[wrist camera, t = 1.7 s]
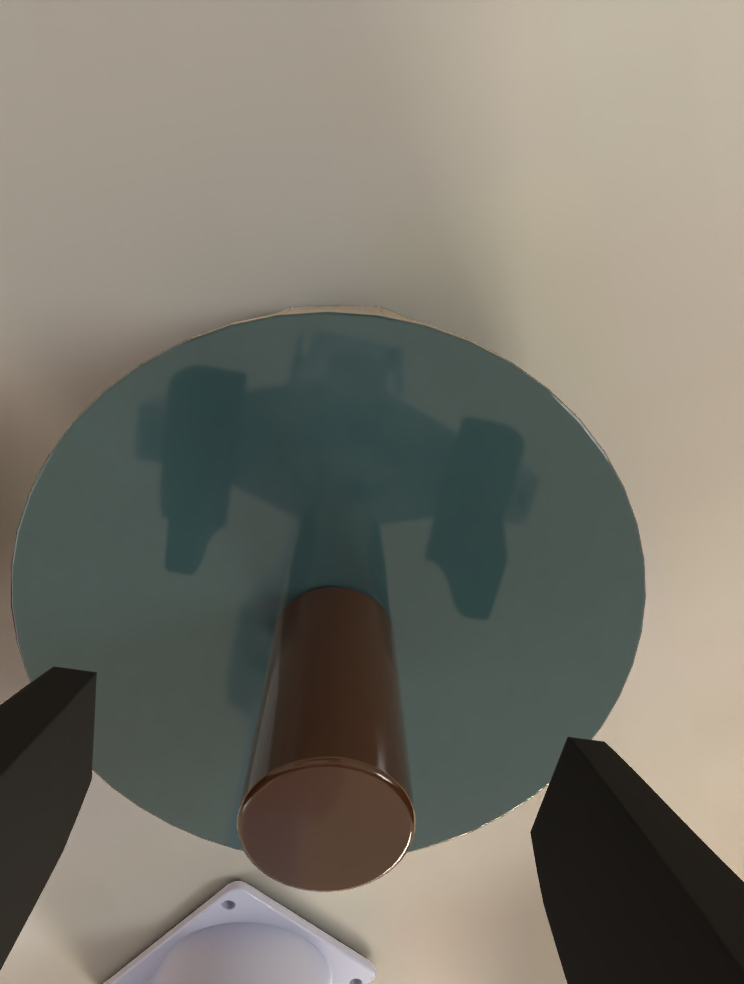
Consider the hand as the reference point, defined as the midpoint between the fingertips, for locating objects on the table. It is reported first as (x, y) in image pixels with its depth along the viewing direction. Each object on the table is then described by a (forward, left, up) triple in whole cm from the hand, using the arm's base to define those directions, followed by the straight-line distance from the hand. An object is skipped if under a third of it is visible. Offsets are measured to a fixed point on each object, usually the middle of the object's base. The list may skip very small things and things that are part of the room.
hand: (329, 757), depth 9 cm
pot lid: (0, 0, -4) cm, 4 cm away
